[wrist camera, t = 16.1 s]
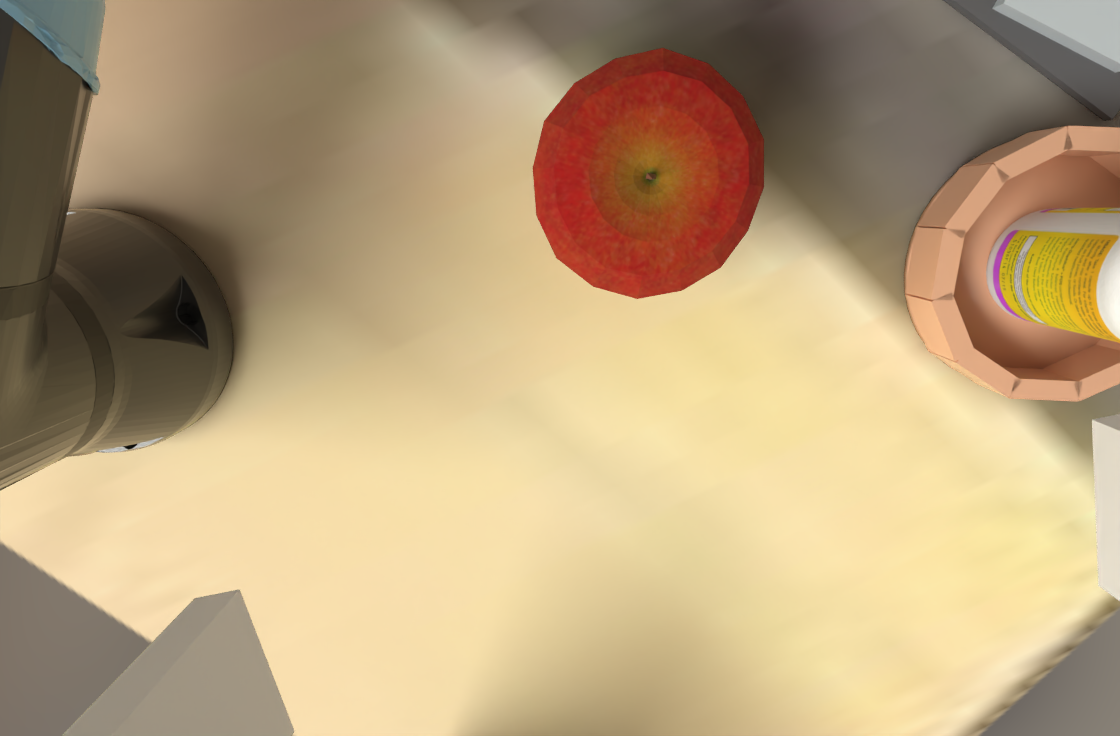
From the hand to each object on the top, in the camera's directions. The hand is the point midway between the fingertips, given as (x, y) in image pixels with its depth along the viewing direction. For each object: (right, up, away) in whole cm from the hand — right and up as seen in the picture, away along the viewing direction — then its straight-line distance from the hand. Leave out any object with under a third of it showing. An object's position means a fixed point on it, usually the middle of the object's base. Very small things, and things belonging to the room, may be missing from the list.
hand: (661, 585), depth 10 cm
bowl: (+27, +10, +30) cm, 41 cm away
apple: (+3, +14, +29) cm, 33 cm away
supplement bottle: (+27, +10, +29) cm, 41 cm away
